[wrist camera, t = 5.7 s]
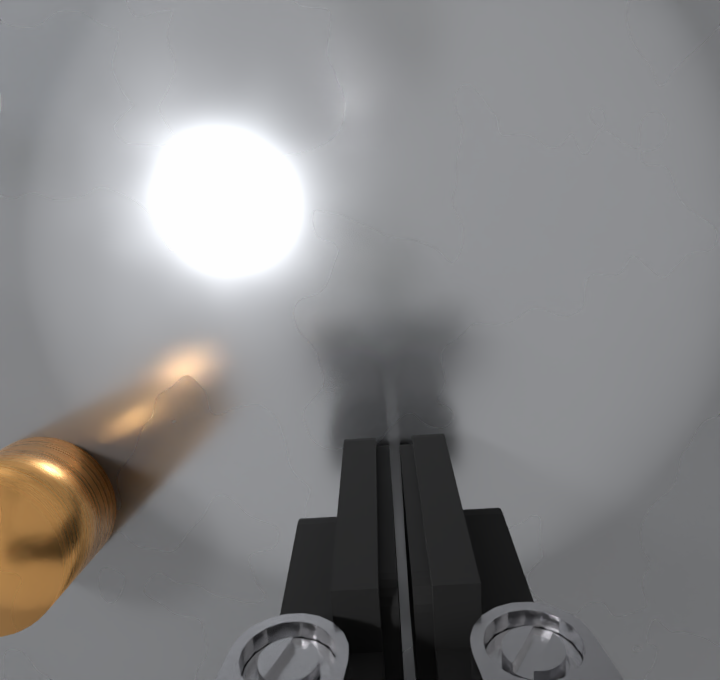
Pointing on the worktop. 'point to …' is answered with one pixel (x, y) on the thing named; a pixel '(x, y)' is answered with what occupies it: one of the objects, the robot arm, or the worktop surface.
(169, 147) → the cooker lid
